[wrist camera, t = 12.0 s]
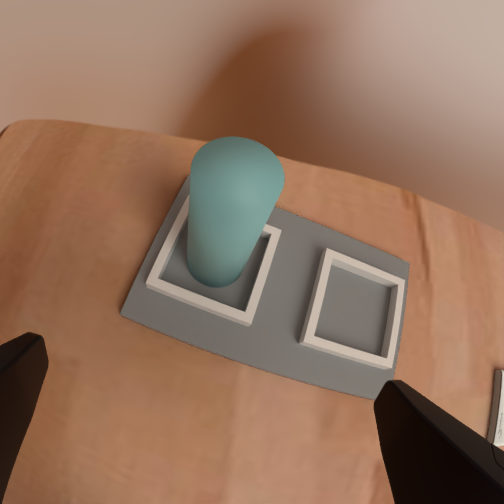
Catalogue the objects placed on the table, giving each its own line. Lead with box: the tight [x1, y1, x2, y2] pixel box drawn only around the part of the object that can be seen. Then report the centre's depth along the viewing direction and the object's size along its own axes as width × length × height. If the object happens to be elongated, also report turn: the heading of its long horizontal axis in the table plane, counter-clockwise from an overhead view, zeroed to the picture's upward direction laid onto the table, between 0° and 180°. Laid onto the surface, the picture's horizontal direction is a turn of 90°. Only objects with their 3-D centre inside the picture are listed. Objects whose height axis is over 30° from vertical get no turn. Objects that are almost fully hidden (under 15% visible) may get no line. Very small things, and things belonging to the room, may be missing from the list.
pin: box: [187, 137, 285, 288], centre depth 18 cm, size 4×4×10 cm
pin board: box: [120, 175, 410, 400], centre depth 22 cm, size 20×12×2 cm, turn 72°
